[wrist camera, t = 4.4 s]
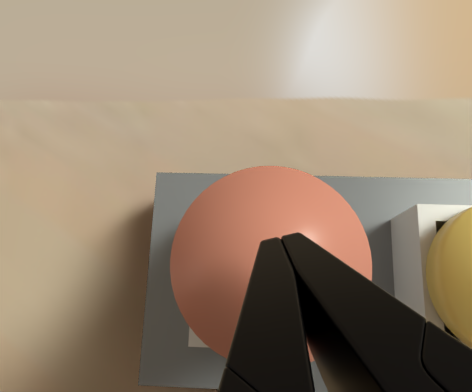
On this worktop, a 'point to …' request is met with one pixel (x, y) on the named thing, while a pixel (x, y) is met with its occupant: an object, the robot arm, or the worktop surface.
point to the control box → (381, 246)
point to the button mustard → (453, 275)
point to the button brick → (253, 241)
